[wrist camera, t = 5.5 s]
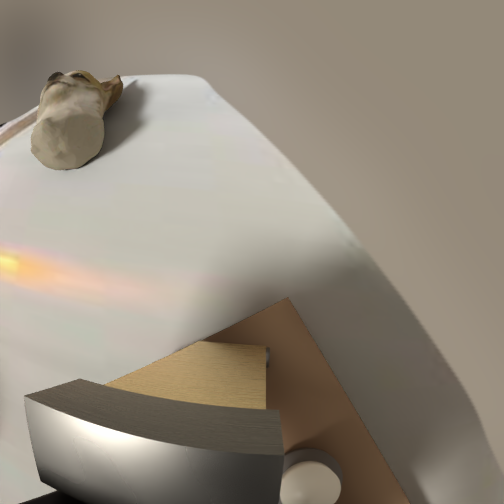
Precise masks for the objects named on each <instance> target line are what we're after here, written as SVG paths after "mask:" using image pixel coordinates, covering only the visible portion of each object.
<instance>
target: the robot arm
mask: <svg viewBox="0 0 504 504" xmlns="http://www.w3.org/2000/svg"><path fill="white" fill-rule="evenodd" d="M20 504H86V503H84V502H82V501H79V500H77V499H75V498H73V497H71V496H69V495H66V494H64V493H62V492H60V491H58V490H57V491H54V492H52V493H49V494H46V495H43V496H41V497H38V498H35V499H32V500H29V501H26V502H23V503H20Z"/></svg>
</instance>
